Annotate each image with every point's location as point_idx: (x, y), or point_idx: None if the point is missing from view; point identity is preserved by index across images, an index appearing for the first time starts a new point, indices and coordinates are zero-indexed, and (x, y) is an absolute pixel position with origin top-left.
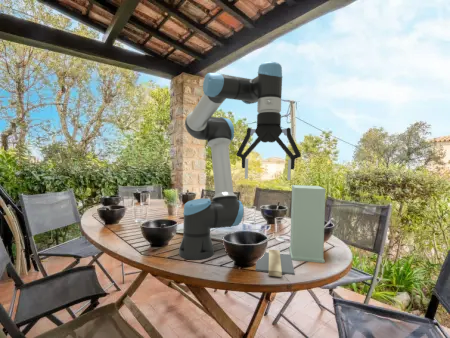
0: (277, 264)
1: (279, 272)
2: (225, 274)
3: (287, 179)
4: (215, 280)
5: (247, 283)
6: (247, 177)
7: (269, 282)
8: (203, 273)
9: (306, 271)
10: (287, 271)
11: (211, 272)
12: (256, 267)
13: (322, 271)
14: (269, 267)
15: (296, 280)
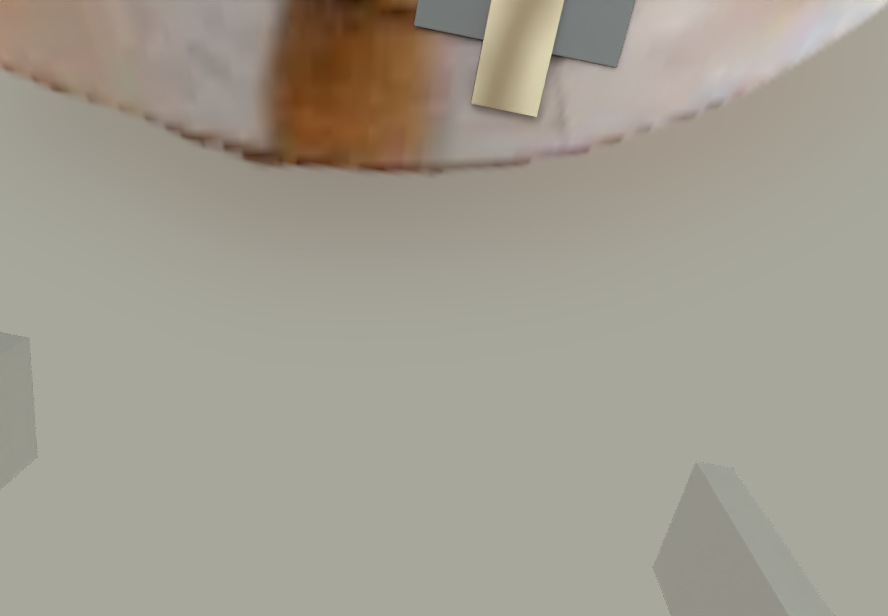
0: (539, 18)
1: (525, 113)
2: (258, 73)
3: (689, 480)
4: (219, 140)
5: (365, 163)
6: (21, 401)
7: (466, 150)
8: (148, 67)
9: (700, 13)
10: (584, 49)
11: (185, 53)
12: (421, 1)
13: (794, 8)
14: (483, 65)
15: (602, 125)
